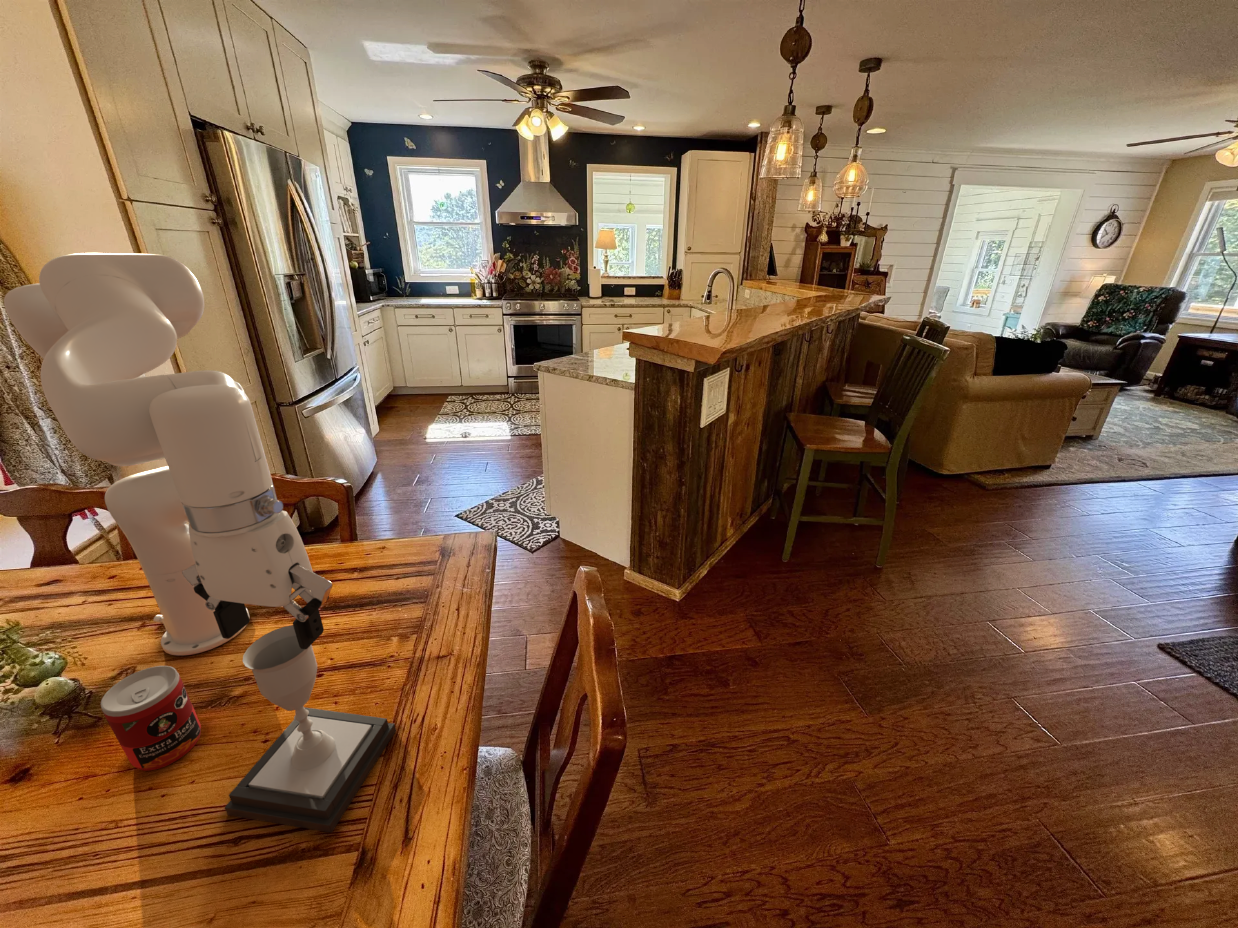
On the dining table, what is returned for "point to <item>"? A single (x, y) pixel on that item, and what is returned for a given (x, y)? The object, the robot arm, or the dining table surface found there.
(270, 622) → the dining table surface
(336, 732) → the pan
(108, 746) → the dining table surface
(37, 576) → the dining table surface
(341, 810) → the scale
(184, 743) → the canned food
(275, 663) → the chalice
